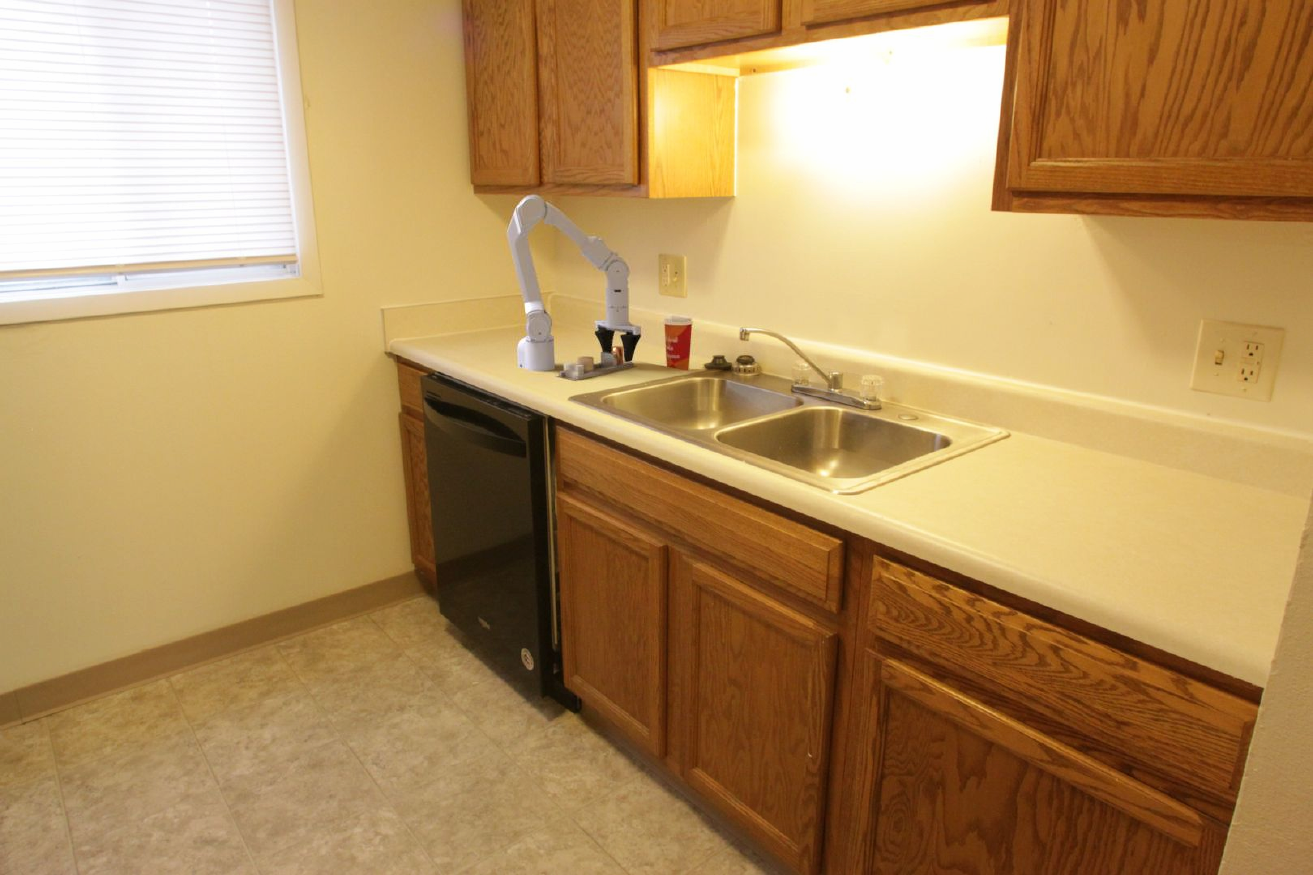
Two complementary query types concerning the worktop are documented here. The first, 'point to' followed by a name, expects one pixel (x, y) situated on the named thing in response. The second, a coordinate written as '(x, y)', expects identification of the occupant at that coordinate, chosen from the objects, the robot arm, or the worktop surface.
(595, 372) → the grey tray
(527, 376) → the worktop surface
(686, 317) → the paper cup
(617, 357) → the press jaw
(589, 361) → the tan cylinder
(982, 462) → the worktop surface
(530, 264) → the robot arm
